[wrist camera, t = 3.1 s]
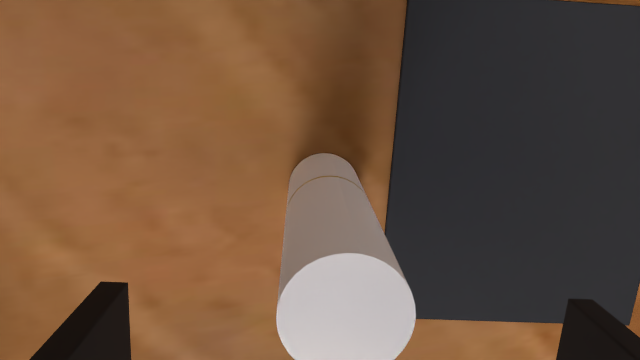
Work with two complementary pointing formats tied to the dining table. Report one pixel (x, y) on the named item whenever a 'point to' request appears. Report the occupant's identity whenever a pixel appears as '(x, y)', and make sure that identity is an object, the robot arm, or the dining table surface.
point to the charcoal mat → (517, 159)
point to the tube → (338, 271)
